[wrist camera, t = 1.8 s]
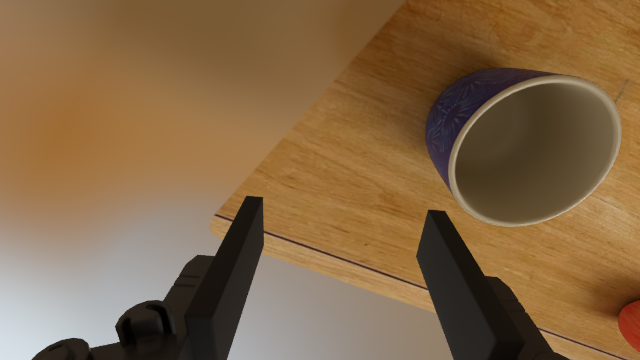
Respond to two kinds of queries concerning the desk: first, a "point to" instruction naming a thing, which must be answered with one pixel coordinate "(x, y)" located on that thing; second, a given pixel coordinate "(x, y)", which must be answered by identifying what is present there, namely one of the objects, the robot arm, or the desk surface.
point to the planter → (522, 143)
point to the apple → (631, 324)
